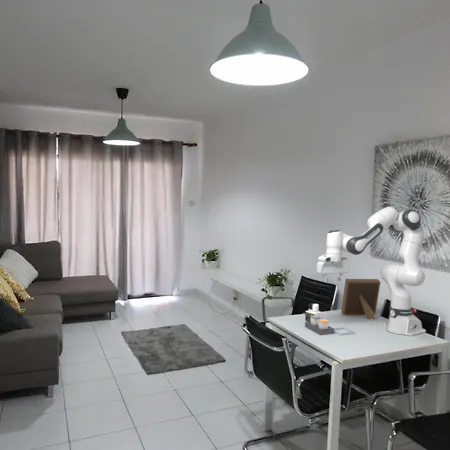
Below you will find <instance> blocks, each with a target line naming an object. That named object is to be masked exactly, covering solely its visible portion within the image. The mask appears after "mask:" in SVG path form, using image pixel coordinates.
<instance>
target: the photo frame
mask: <svg viewBox="0 0 450 450" xmlns="http://www.w3.org/2000/svg"><path fill="white" fill-rule="evenodd" d="M344 282H345V283H344V289H343V296H342V303H341V312H340V313H341V314H342V315H343V316H361V315H366V316H365V317H366V319H367V320H371V319H373V321H375V316H376V313H377V307H378V306H377V305H378V300H379V292H380V287H381V281H380V280H379V279H378V278H345V281H344ZM374 315H375V316H374Z"/></svg>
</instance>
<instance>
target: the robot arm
mask: <svg viewBox="0 0 450 450" xmlns="http://www.w3.org/2000/svg"><path fill="white" fill-rule="evenodd" d="M421 218H422V217H421V214H420V213H419V211H417V210H415V209H406V210H404V211H401V212H398V211H397V209H396V208H394V207H393V206H386V207H384V208H382V209H380V210H378V211H377V212H375V213H373V214H372V215H371V216H370V217H369V218H368V219H367V222H366V225H367V228H368V229H367V230H366V231H365V232H364V233H362V234H361V235H358V236H353V235H348V234H346V233H344V232H343V231H342V230H341V229H331V230H329V231H328V232H327V234H326V242H325V244H326V245H325V246H326V251H325V253H324V254H322V255H320V256H318V258H317V260H318V262H317V264H316V273H317V274H319V275H322V277H323V281H324V282H325V283H327V282H328V281H329V278H327V275H336V274H339V276H338V277H337V281H338V282H341V281H342V278H343V276H344V274H348V273H349V271H350V265H349V259H348V257H346V256H344V257H343V256H342V253H343V252H345V253H349V254H352V255H356V256H357V255H360V254H362V253H363V252H364V251H365V250H366V248H367V246H368V245H370V244H371V243H372V242H373V241H374V240H375V239H376V238H378V237H379V236H380V235H381V234H382V233H383V231H384V230H385V231H386V229H387V228H389V227H390V229H392V230H393V231H394V232H397V233H400V232H401V233H402V232H403V237H402V241H401V244H400V246H399V250H398V256H399V258H400V259H401V260H403V262H404V263H403V264H402V265H401V264H397V263H395V264H394V263H385V264H384V265H383V266H382V267H381V269H380V271H379V272H380V273H379V274H380V277H381V279H382V280H383V281H384V282H385V284H386V285H387V288H388V289H389V293H390V306H389V315H388V322H387V327H386V331H388V332H390V333H392V334H397V335H405V336H410V337H411V336H416V335H420V334H424V333H426V332H427V330H426V329H425V328H423V325H422V324H423V323H422V321H421V320H420V319H419V318H418V317H417V316H416V315H414V313H417V309H416V308H412V295H411V293H410V292H409V291H408V290H407V289H405V287H404V286H410V287H417V286H418V287H419V286H422V285H423V283H424V282H425V279H426V275H425V271H424V270H423V269H422V268H421V266H420V263H419V257H420V254H421V250H422V246H423V242H424V237H425V235H424V234H425V233H424V231H423V230H422V229H421V228H420V227H421Z"/></svg>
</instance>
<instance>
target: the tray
mask: <svg viewBox="0 0 450 450" xmlns="http://www.w3.org/2000/svg"><path fill="white" fill-rule="evenodd" d="M333 328H334V334H336V335H338V336H340V337H341V336H350V335H356V332H355V331H353V330H351V329H349V328H347V327H345V326H343V327H341V326H340V327H333ZM340 330H345V331H347V332H342V333H341V332H339V331H340Z"/></svg>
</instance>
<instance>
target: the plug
mask: <svg viewBox="0 0 450 450" xmlns="http://www.w3.org/2000/svg"><path fill="white" fill-rule="evenodd" d="M318 321H319V323H318V327H319V328H321V329H327V328H328V326H330V325H329V322H330V321H329V320H327V319H325V318H321V319H320V320H318Z"/></svg>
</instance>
